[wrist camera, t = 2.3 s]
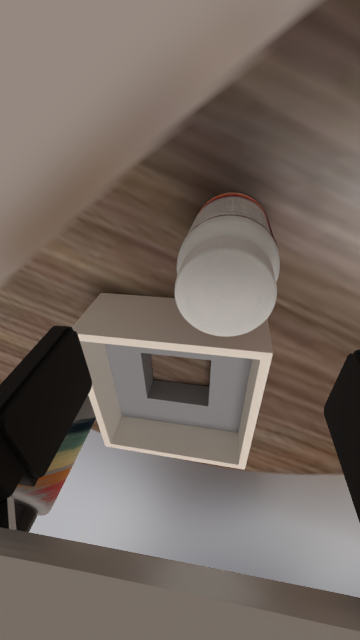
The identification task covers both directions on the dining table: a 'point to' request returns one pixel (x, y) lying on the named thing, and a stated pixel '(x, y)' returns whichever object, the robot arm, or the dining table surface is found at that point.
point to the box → (169, 397)
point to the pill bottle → (228, 267)
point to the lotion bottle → (53, 473)
